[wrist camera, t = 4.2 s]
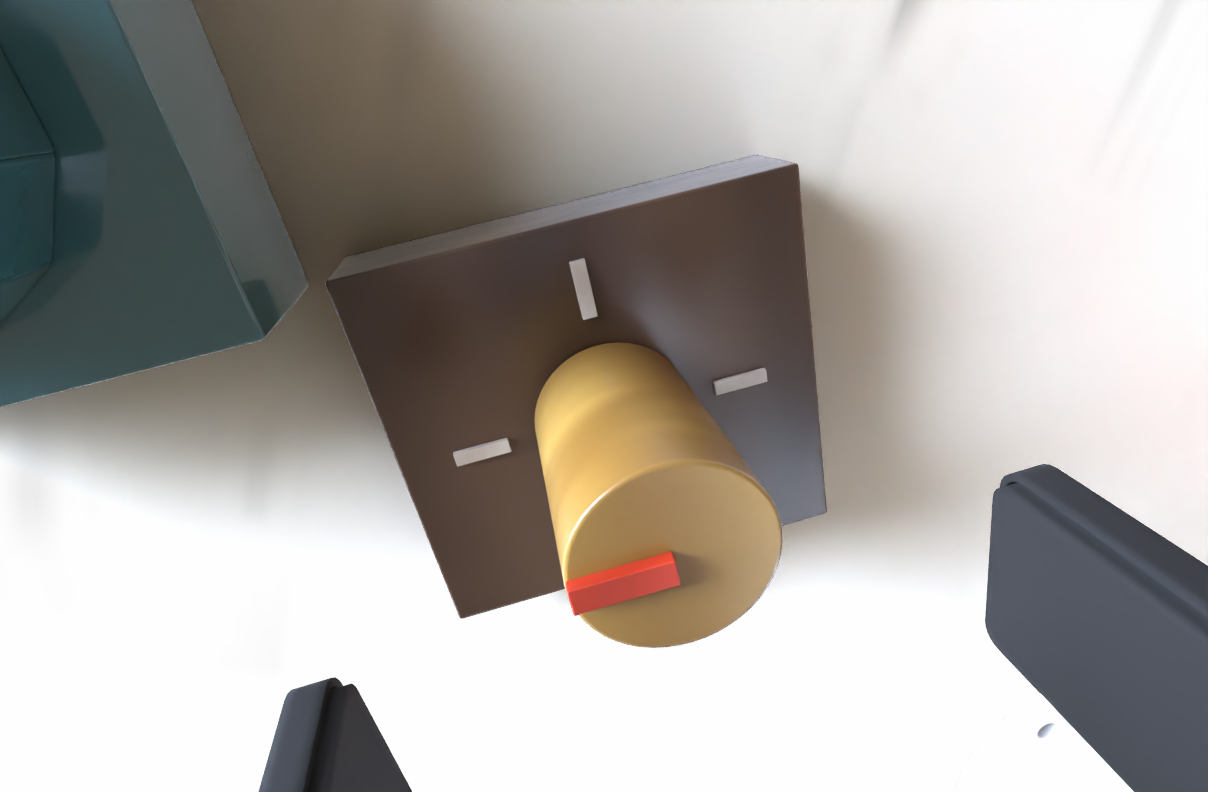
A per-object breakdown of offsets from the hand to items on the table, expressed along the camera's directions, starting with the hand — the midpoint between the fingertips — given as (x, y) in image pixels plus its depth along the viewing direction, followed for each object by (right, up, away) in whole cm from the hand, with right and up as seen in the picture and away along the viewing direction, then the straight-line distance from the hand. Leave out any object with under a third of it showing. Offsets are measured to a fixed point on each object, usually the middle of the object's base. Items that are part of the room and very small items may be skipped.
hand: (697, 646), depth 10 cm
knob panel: (-2, +4, +10) cm, 11 cm away
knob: (-1, +3, +8) cm, 8 cm away
